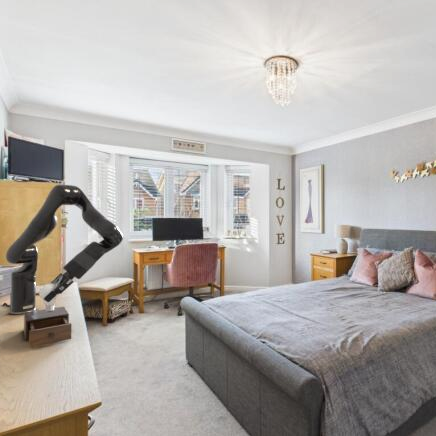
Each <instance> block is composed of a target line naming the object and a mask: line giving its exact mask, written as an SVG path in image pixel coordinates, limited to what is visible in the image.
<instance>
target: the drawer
mask: <svg viewBox="0 0 436 436" xmlns="http://www.w3.org/2000/svg"><path fill="white" fill-rule="evenodd" d="M68 340H72V323H71V322H69V324H68V322H67V320H66V318H65V317H60V318H54V319H48V320H43V321H37V322H31V323H30V331H29V340H28V348H30V349H32V348H35V347H40V346H45V345H49V344H55V343H58V342H63V341H68Z"/></svg>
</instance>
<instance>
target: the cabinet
mask: <svg viewBox="0 0 436 436" xmlns="http://www.w3.org/2000/svg"><path fill="white" fill-rule="evenodd" d="M45 310H46V308H45V309H39V310H38V309H37V310H35V311H31V312H25V313H24V314H23V334H24V341H29V331H30V323H31V322H37V321H43V320H48V319H54V318H60V317H65V318H66V320H67V322H68V324H69V323H70V313H69V312H68V310H67V309H66V307H65V306H58V307H54V310H53V311H52V312H47V311H45Z"/></svg>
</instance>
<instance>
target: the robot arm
mask: <svg viewBox="0 0 436 436" xmlns="http://www.w3.org/2000/svg"><path fill="white" fill-rule="evenodd" d="M61 206H75V207H77V208H78V209H80V210H81V218H82V220H83V221H84V222H85V224H87V226H89V227H90V228H91V229H92V230H93V231H94V232H96V233H97V234H98V235H99V236H100V237H101V238H102V240H100V241H99V242H97V241H91V242H90V243H89V244H88V245H87V246H86V247H84V248H83V249H82V250H81V251H80V252H78V253H77V254H76V255H75V256H73V258H72V259H70V260H69V261H68V262H67V263H66V264H65V265H64V266H63V268H62V269H63V270H64V271H65V272H64V273H62V272H60V273H59V274H58V275H57V276H56V277H55V278H54V279H53V280H52V281H51V282H50V283H53V284H55V288H54V289H53V290H52V291H51V292H50V293H49V294H48V295H47V296H46V297H45V298H44V300H45V301H47V302H50V301H51V300H52V299H53V298H54V297H55V296H56V295H57V294H59V295H61V294H63V292H65V291H66V290H67V289H68V288H69V287H70V286H71V285H72V284H74V278H76V279H77V280H81V279H82V278H83V276H84V275H86V274H87V272H89V271H90V270H91V269H92V268H93V267H94V266H95V265H96V263H97V262H98V261H99V260H100V259H101V258H102V257H103V256H104V255H105V254H107V253H108V252H110V251H112V250H114V249H115V248H117V247H118V246H120V244H121V243H122V242H123V240H124V235H123V233H122V231H121V230H120V229H119V227H118V226H117V225H116V224H115V223H114V222H112V221H110V220H109V219H108V218H107V217H105V215H103V214H102V213H101V211H99V210H98V209H97V208H96V207H95V206H94V205H93V203H92V202H91V200H90V199H89V198H88V197H87V195H86V194H85V193H84V191H83V190H82V189H81V188H80V187H78V186H77V185H72V184H56V185H54V186H53V187H52V188H51V190H50V191H49V192H48V194H47V196H46V198H45V201H43V204H42V206H41V207H40V209H39V210H38V212H36V214H35V216H34V217H33V218H32V219H31V220H30V222H29V224H28V225H27V226H26V228H25V229H24V230H23V232H22V233H21V234H20V235H19V236H18V238H16V240H15V241H13V242H12V243H11V245H10V246H9V247H8V248H7V250H6V253H5V260H6V261H7V263H9V264H12V265H21V264H22V266H20V267H18V268H17V269H15V270H13V271H11V274H10V294H9V296H10V297H9V298H10V299H9V301H10V302H9V304H8V303H7V302H4V303H3V304H2V306H4V307H6V308H9V309H10V310H9V311H10V312H9V313H10V314H11V315H24V313H25V312H31V311H37V308H36V307H37V306H36V304H37V303H36V302H37V301H36V299H37V298H36V297H37V296H36V295H37V293H36V292H37V291H36V290H37V289H36V287H37V282H36V281H37V278H36V277H37V276H36V275H37V270H38V259H39V251H38V247H37V246H36V244H37V243H39V242H41V241H42V240H44V239H46V238H48V237H49V236H50V235H51V233H52V232H53V231H54V230H55V228H56V227H57V225H58V218H57V216H56V215H57V214H56V212H57V211H58V210H59V208H60V207H61ZM59 288H60V289H59Z"/></svg>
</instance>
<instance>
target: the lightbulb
mask: <svg viewBox="0 0 436 436" xmlns="http://www.w3.org/2000/svg"><path fill="white" fill-rule="evenodd" d="M54 288H55V284H53V283H51V282H50V283H49V282H48V283H46V284H44V285H42V286H41V287H40V288H39V291H38V295H39V297H40V298H41V300H42V301H43V304H44V306H45V309H46V310H45V309H44V310H45V311H47V312H52V311H53V310H54V308H55V303H56V300H57V298H58V297H59V295H60V294H57V295H56V296H55V297H54V298H53V299H52V300H51V301H50V302H47V301H45V300H44V298H45V297H46V296H47V295H48V294H49V293H50V292H51V291H52V290H53V289H54ZM59 289H60V288H59Z"/></svg>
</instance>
